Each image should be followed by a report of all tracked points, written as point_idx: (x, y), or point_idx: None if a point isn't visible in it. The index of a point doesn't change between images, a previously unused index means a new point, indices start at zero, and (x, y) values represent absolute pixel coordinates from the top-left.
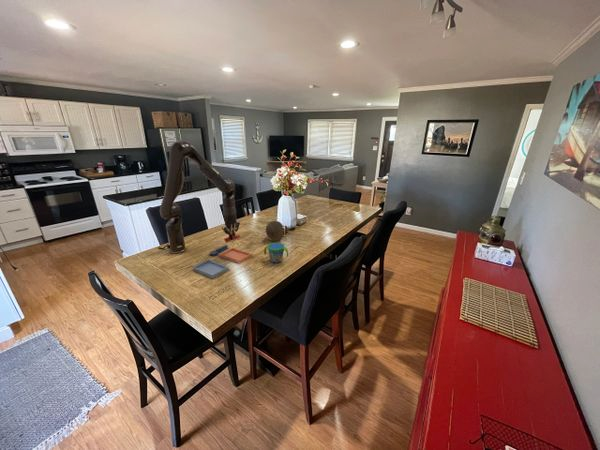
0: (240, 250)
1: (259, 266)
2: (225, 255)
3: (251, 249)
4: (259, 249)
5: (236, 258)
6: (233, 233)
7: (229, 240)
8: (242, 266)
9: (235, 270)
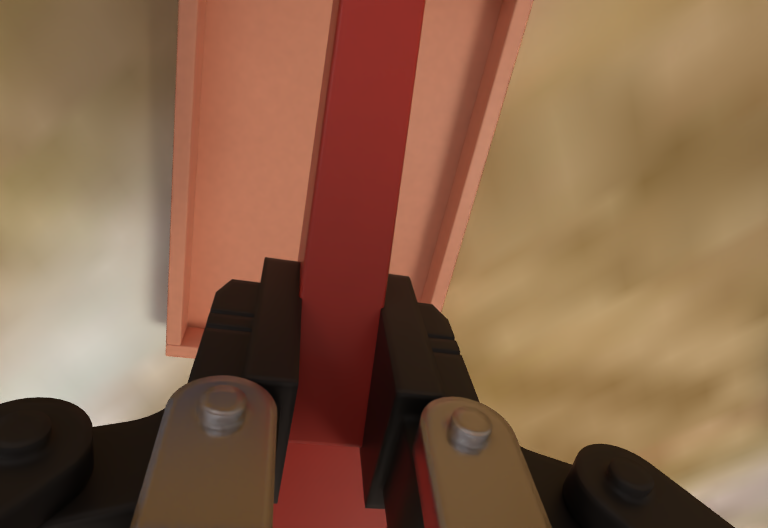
0: (469, 183)
1: None
2: (189, 48)
3: (615, 240)
4: (632, 331)
5: (259, 231)
6: (374, 487)
7: (310, 174)
8: (140, 396)
9: (11, 383)
